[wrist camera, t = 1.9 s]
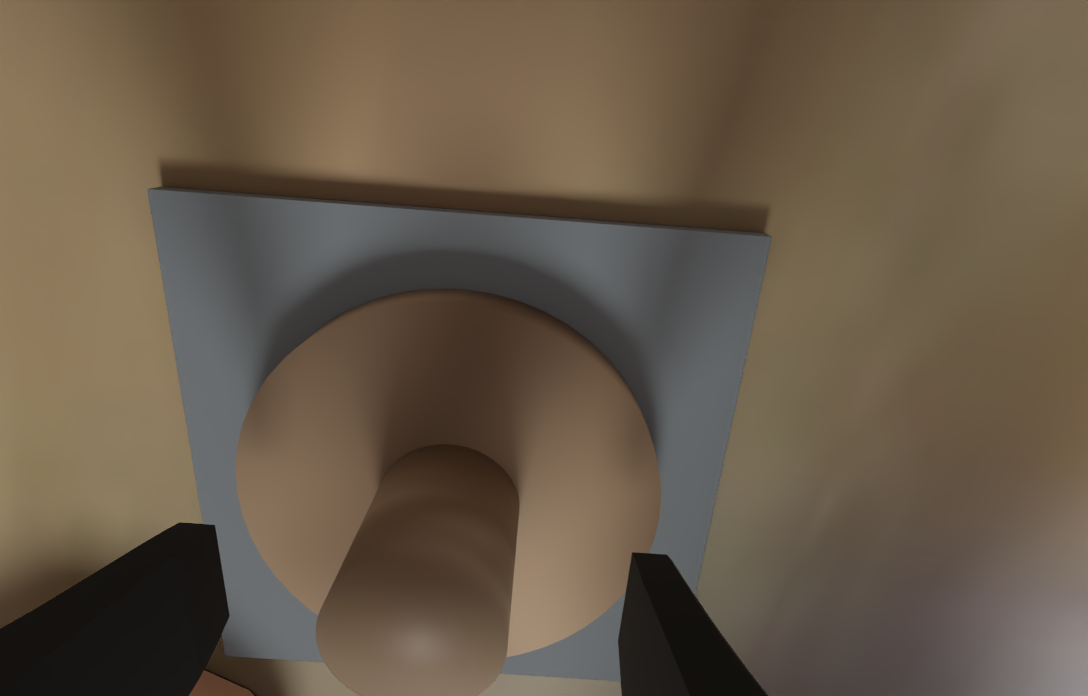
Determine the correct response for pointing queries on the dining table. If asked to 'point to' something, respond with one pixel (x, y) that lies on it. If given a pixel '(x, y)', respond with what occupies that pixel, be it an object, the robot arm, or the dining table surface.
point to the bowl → (217, 687)
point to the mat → (450, 263)
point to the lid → (446, 487)
